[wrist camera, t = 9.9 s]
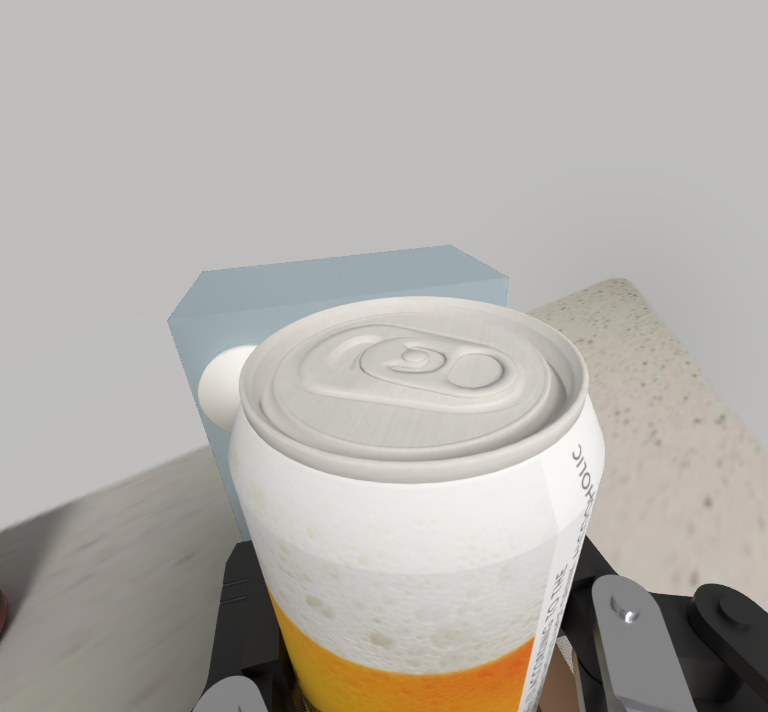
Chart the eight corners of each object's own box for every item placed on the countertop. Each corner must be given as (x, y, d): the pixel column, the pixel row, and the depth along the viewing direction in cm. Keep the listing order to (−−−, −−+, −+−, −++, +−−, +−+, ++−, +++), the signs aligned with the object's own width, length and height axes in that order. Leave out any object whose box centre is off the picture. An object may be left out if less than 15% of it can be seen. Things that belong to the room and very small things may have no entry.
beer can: (378, 616, 17) (343, 280, 10) (525, 686, 14) (614, 305, 7) (293, 805, 12) (107, 412, 5) (490, 957, 10) (649, 603, 3)
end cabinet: (256, 591, 19) (163, 326, 12) (263, 490, 24) (202, 271, 18) (488, 535, 21) (515, 281, 14) (445, 453, 26) (450, 244, 20)
